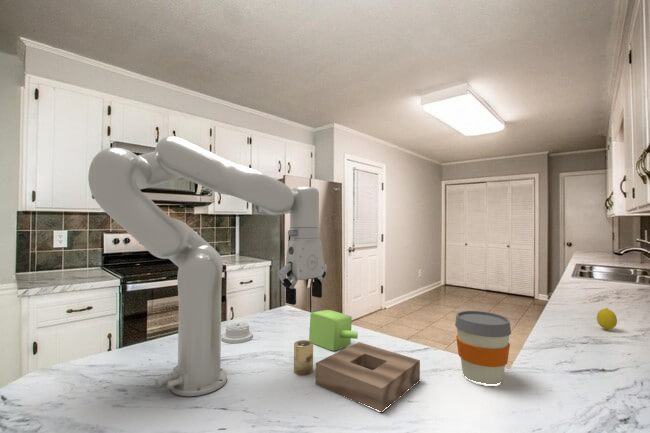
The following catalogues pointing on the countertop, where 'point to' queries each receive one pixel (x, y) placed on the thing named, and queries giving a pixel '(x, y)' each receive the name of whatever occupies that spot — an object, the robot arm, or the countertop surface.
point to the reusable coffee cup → (483, 345)
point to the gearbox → (331, 329)
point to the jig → (368, 374)
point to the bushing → (303, 357)
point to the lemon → (606, 319)
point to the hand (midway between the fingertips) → (304, 300)
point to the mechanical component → (237, 333)
